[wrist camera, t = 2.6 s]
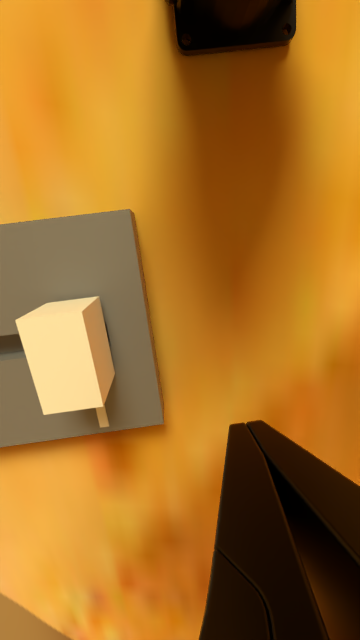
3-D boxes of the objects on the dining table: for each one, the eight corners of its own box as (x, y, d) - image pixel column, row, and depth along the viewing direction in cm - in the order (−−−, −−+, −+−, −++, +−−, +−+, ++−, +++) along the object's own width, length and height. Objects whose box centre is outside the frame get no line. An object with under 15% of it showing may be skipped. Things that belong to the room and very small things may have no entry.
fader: (104, 291, 17) (81, 311, 12) (118, 362, 19) (103, 406, 14) (57, 297, 17) (15, 320, 12) (74, 368, 19) (43, 415, 14)
